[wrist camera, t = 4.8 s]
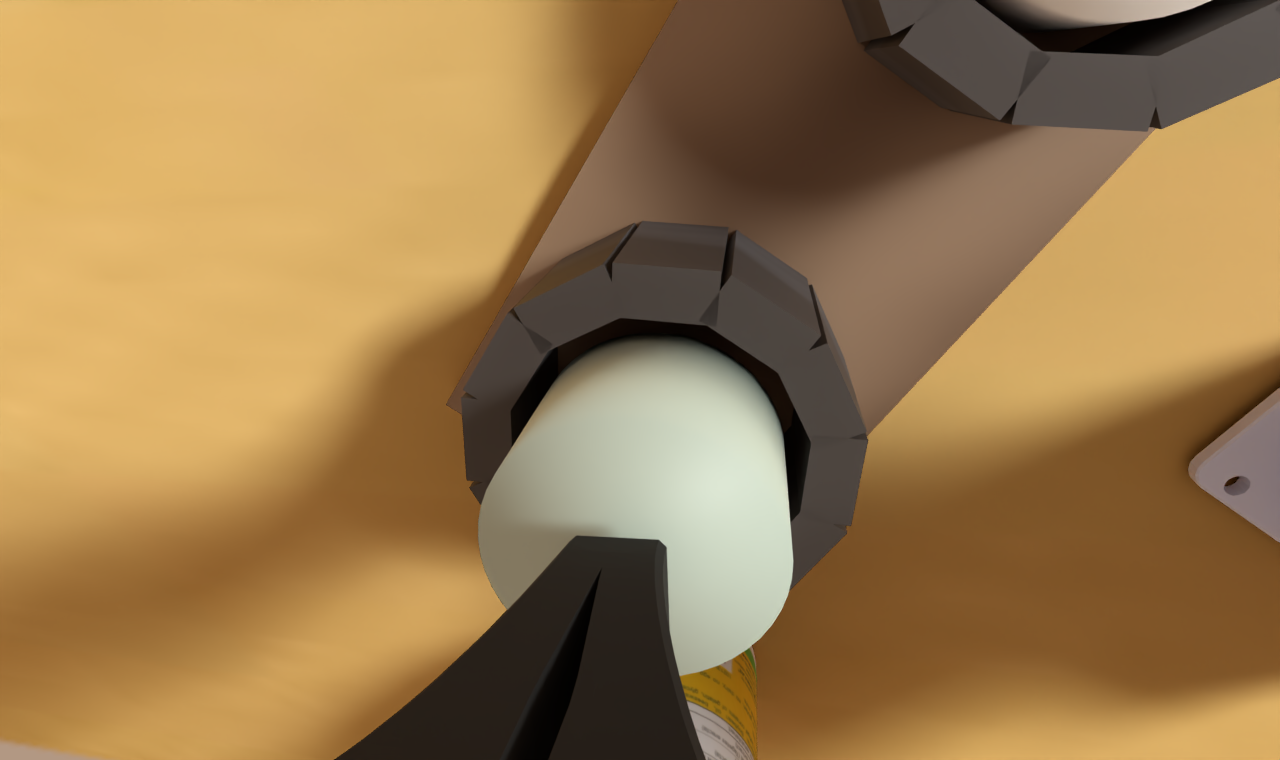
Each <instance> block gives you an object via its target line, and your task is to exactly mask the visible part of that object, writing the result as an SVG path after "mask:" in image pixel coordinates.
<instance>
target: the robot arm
mask: <svg viewBox="0 0 1280 760" xmlns="http://www.w3.org/2000/svg"><path fill="white" fill-rule="evenodd" d="M1188 472H1189V476H1190V477H1191V479H1192V480H1193V481H1194V482H1195V483H1196V484H1197V485H1198V486H1199V487H1201V488H1202V489H1203V490H1205V491H1206V492H1208V493H1209V494H1210V495H1212V496H1213V497H1215V498H1216V499H1218V500H1219V501H1220V502H1222V503H1223V504H1225V505H1226V506H1228V507H1229V508H1230V509H1232V510H1233V511H1235V512H1236V513H1238V514H1239V515H1240V516H1242V517H1243V518H1245V519H1246V520H1248V521H1249V522H1251V523H1252V524H1253V525H1255V526H1256V527H1258V528H1259V529H1261V530H1262V531H1263V532H1265V533H1266V534H1268V535H1269V536H1271V537H1272V538H1273V539H1275V540H1276V541H1278V542H1279V543H1280V388H1278V389H1277V390H1276V391H1275V392H1274V393H1272V394H1271V395H1270V396H1269V397H1267V398H1266V399H1265V400H1264V401H1262V402H1261V403H1260V404H1259V405H1258V406H1256V407H1255V408H1254V409H1253V410H1251V411H1250V412H1249V413H1248V414H1246V415H1245V416H1244V417H1243V418H1242V419H1240V420H1239V421H1238V422H1237V423H1235V424H1234V425H1233V426H1232V427H1230V428H1229V429H1228V430H1227V431H1226V432H1224V433H1223V434H1222V435H1221V436H1219V437H1218V438H1217V439H1216V440H1214V441H1213V442H1212V443H1211V444H1210V445H1208V446H1207V447H1206V448H1205V449H1203V450H1202V451H1201V452H1200V453H1198V454H1197V455H1196V456H1195V457H1194V458H1193V459H1192V461H1191V462H1190V464H1189V467H1188ZM1236 476H1239V479H1238V480H1237V481H1236V482H1235V483H1234V484H1232V485H1230V486H1224V485H1225V483H1226V482H1227V481H1228V480H1229V479H1231V478H1233V477H1236ZM334 760H706V758H705V755H704V753H703V750H702V747H701V744H700V742H699V739H698V736H697V733H696V729H695V726H694V723H693V720H692V717H691V714H690V710H689V707H688V704H687V700H686V697H685V693H684V690H683V686H682V682H681V679H680V675H679V671H678V667H677V663H676V659H675V655H674V650H673V645H672V640H671V635H670V626H669V597H668V569H667V547H666V546H665V545H664V544H663V543H662V542H661V541H660V540H656V539H637V538H617V537H598V536H579V535H576V536H575V537H574V538H573V539H572V540H571V541H569V542H568V544H567V545H566V546H565V547H564V548H563V549H562V550H561V551H560V553H559V554H558V555H557V556H556V557H555V558H554V559H553V561H552V562H551V563H550V564H549V565H548V566H547V567H546V569H545V570H544V571H543V572H542V573H541V574H540V575H539V576H538V577H537V579H536V580H535V581H534V582H533V583H532V584H531V585H530V586H529V587H528V588H527V590H526V591H525V592H524V593H523V594H522V595H521V596H520V597H519V598H518V599H517V600H516V601H515V602H514V603H513V604H512V605H511V606H510V608H509V609H508V610H507V611H506V612H505V613H504V614H503V615H502V616H501V617H500V618H499V619H498V620H497V621H496V622H495V623H494V624H493V625H492V626H491V627H490V628H489V629H488V630H487V631H486V632H485V633H484V634H483V635H482V636H481V637H480V638H479V639H478V640H477V641H476V642H475V643H474V644H473V645H472V646H471V647H470V648H469V649H468V650H467V651H465V652H464V653H463V654H462V655H461V656H460V657H459V658H458V659H457V660H456V661H455V662H454V663H453V664H452V665H451V666H449V667H448V668H447V669H446V670H445V671H444V672H443V673H442V674H441V675H440V676H439V677H438V678H437V679H435V680H434V681H433V682H432V683H431V684H430V685H429V686H428V687H426V688H425V689H424V690H423V691H422V692H421V693H419V694H418V695H417V696H416V697H415V698H414V699H412V700H411V701H410V702H409V703H408V704H406V705H405V706H404V707H403V708H402V709H400V710H399V711H398V712H397V713H395V714H394V715H393V716H392V717H390V718H389V719H388V720H387V721H386V722H384V723H383V724H382V725H381V726H379V727H378V728H377V729H376V730H374V731H373V732H372V733H370V734H369V735H368V736H367V737H365V738H364V739H363V740H361V741H360V742H358V743H357V744H356V745H354V746H353V747H352V748H350V749H349V750H347V751H346V752H345V753H343V754H342V755H340V756H339V757H337V758H336V759H334Z"/></svg>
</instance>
